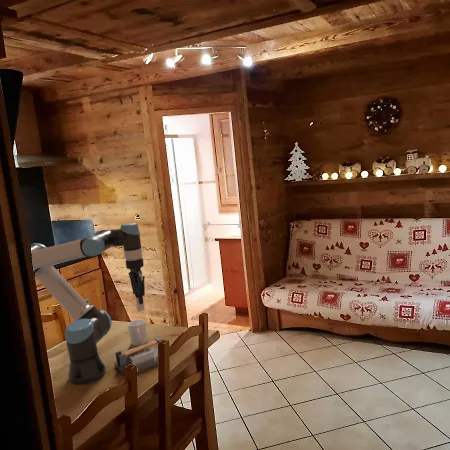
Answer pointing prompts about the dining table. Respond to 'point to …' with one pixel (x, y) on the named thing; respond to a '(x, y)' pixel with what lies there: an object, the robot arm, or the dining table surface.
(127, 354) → the brown wooden strip
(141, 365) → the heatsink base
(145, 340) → the mug
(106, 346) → the dining table surface
